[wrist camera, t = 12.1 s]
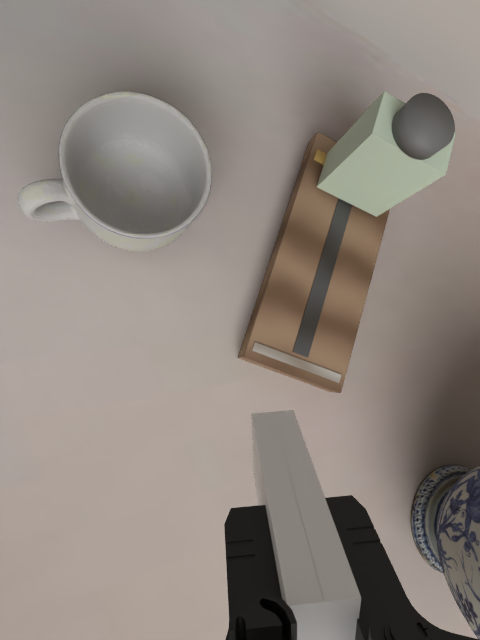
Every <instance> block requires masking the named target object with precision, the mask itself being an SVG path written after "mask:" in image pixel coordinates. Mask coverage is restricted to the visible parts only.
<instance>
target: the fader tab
mask: <svg viewBox="0 0 480 640" xmlns="http://www.w3.org/2000/svg"><path fill="white" fill-rule="evenodd" d="M454 131H455V125H454V120H453V116H452V114H451V112H450V110H449V109H448V107H447V106H446V104H445V103H444V102H443V101H442V100H440V99H439V98H438V97H436V96H434V95H432V94H428V93H420V94H417V95H415V96H413V97H412V98H411V99H410V100H409V101H408V102H407V103H404V102H402V101H401V100H399V99H397V98H395V97H394V96H392V95H390V94H389V93H387V92H385V91H384V92H383V93H382V94H381V95H380V97H379V98H378V99H377V100H376V101H375V102H374V103H373V104H372V105H371V106H370V107H369V108H368V109H367V111H366V112H365V113H364V114H363V115H362V116H361V117H360V118H359V119H358V120H357V121H356V122H355V124H354V125H353V126H352V127H351V128H350V129H349V130H348V131H347V132H346V133H345V134H344V135H343V137H342V138H341V139H340V140H339V141H338V142H337V143H336V144H335V145H334V146H333V147H332V148H331V149H330V151H329V152H328V153H327V156H326V159H325V162H324V165H323V169H322V172H321V175H320V178H319V181H318V184H317V188H319V189H321V190H323V191H325V192H327V193H329V194H331V195H333V196H335V197H337V198H339V199H341V200H343V201H345V202H347V203H349V204H352V205H354V206H356V207H358V208H360V209H362V210H364V211H366V212H368V213H370V214H372V215H374V216H376V217H377V216H379V215H380V214H382V213H384V212H385V211H387V210H389V209H390V208H392V207H393V206H395V205H397V204H398V203H400V202H402V201H403V200H405V199H407V198H408V197H410V196H411V195H413V194H415V193H416V192H418V191H420V190H421V189H423V188H424V187H426V186H428V185H429V184H431V183H433V182H434V181H436V180H438V179H439V178H441V177H442V176H444V175H446V172H447V167H448V163H449V159H450V155H451V151H452V146H453V142H454V138H455V134H456V133H455V132H454Z"/></svg>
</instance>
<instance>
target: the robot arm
mask: <svg viewBox="0 0 480 640" xmlns="http://www.w3.org/2000/svg"><path fill="white" fill-rule="evenodd" d="M252 440H253V466H254V479H255V485H256V492H257V498H258V504H259V506H250V507H239V508H231V510H230V512H229V515H228V517H227V519H226V522H225V543H226V562H227V582H228V601H229V630H228V633H227V637H226V640H479V639H475V638H470V637H466V636H462V635H458V634H454V633H450V632H447V631H445V630H442V629H439V628H438V627H436V626H434V625H432V624H431V623H429V622H428V621H427V620H426V619H424V618H423V617H422V616H421V615H420V614H419V613H418V612H417V611H416V610H415V609H414V607H413V606H412V605H411V603H410V601H409V600H408V598H407V596H406V594H405V592H404V590H403V588H402V585H401V583H400V581H399V579H398V577H397V575H396V573H395V571H394V568H393V566H392V564H391V562H390V560H389V558H388V556H387V554H386V551H385V549H384V547H383V545H382V544H381V542H380V539H379V537H378V534H377V532H376V530H375V529H374V526H373V524H372V522H371V520H370V517H369V515H368V513H367V511H366V509H365V508H364V507H363V506H362V505H361V504H360V503H359V502H358V501H357V500H356V499H355V498H354V497H353V496H352V495H351V496H341V497H330V498H325V496H324V494H323V491H322V488H321V485H320V483H319V480H318V477H317V474H316V472H315V469H314V466H313V463H312V461H311V458H310V455H309V452H308V450H307V447H306V444H305V441H304V439H303V436H302V433H301V430H300V427H299V425H298V422H297V419H296V416H295V414H294V411H293V410H290V411H278V412H266V413H255V414H252Z"/></svg>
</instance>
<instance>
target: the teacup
mask: <svg viewBox="0 0 480 640" xmlns="http://www.w3.org/2000/svg"><path fill="white" fill-rule="evenodd" d="M59 163H60V169H61V174H62V177H63V179H47V180H40V181H36V182H33V183H31V184H29V185H27V186H25V187H24V188H23V189H22V190H21V191H20V192H19V194H18V204H19V207H20V209H21V211H22V212H23V214H24V215H25V216H26V217H27V218H29V219H31V220H34V221H44V222H48V221H61V220H70V219H71V220H81V221H82V222H83V223H84V224H85V226H86V227H87V228H88V229H89V230H90V231H91V232H92V233H93V234H95V235H96V236H97V237H98V238H100V239H101V240H102V241H104V242H106V243H108V244H110V245H112V246H114V247H117V248H120V249H124V250H129V251H149V250H154V249H158V248H161V247H163V246H165V245H167V244H169V243H171V242H172V241H174V240H175V239H176V238H178V237H179V236H180V235H181V234H182V233H183V232H184V231H185V230H186V229H187V227H188V226H189V225H190V224H191V222H192V221H193V220H194V219H195V218H196V217H197V216H198V214H199V213H200V212H201V210H202V209H203V207H204V205H205V203H206V201H207V198H208V196H209V193H210V188H211V180H212V174H211V163H210V157H209V153H208V150H207V147H206V145H205V143H204V141H203V139H202V137H201V135H200V134H199V132H198V131H197V129H196V128H195V127H194V125H193V124H192V123H191V122H190V121H189V119H188V118H187V117H186V116H184V115H183V114H182V113H181V112H180V111H178V110H177V109H176V108H174V107H173V106H172V105H169V104H168V103H166V102H164V101H162V100H160V99H158V98H155V97H153V96H149V95H146V94H142V93H136V92H127V91H126V92H111V93H108V94H104V95H101V96H99V97H96V98H94V99H92V100H89V101H88V102H86V103H85V104H83V105H82V106H80V107H79V108H78V109H77V110H76V111H75V112H74V113H73V115H72V116H71V117H70V119H69V120H68V121H67V123H66V125H65V127H64V129H63V131H62V135H61V138H60V143H59Z"/></svg>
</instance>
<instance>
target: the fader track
mask: <svg viewBox="0 0 480 640" xmlns="http://www.w3.org/2000/svg"><path fill="white" fill-rule="evenodd" d="M336 143H337V142H336V141H334V140H332V139H330V138H328V137H326V136H324V135H323V134H321V133H319V132H317V133H316V134H315V136H314V137H313V138H312V139H311V141H310V142H309V144H308V147H307V150H306V153H305V156H304V159H303V162H302V165H301V168H300V171H299V174H298V177H297V180H296V183H295V186H294V189H293V192H292V195H291V198H290V201H289V204H288V207H287V210H286V213H285V216H284V219H283V222H282V225H281V228H280V231H279V234H278V237H277V241H276V244H275V247H274V250H273V253H272V256H271V259H270V262H269V265H268V268H267V271H266V274H265V277H264V280H263V283H262V286H261V289H260V292H259V295H258V298H257V301H256V304H255V307H254V310H253V313H252V316H251V319H250V322H249V325H248V328H247V331H246V334H245V337H244V340H243V343H242V346H241V349H240V352H239V356H238V358H240V359H242V360H245V361H248V362H250V363H253V364H256V365H259V366H261V367H264V368H267V369H270V370H272V371H275V372H278V373H280V374H283V375H286V376H289V377H291V378H294V379H297V380H299V381H302V382H305V383H308V384H310V385H313V386H316V387H319V388H321V389H324V390H327V391H329V392H337V393H341V390H342V387H343V383H344V379H345V375H346V372H347V368H348V364H349V360H350V357H351V353H352V349H353V345H354V342H355V338H356V334H357V330H358V327H359V323H360V319H361V315H362V312H363V308H364V304H365V300H366V297H367V293H368V289H369V285H370V282H371V278H372V274H373V270H374V267H375V263H376V259H377V255H378V252H379V248H380V244H381V240H382V237H383V233H384V229H385V225H386V222H387V218H388V214H389V210H390V209H389V210H387V211H385V212H384V213H382V214H380V215H379V216H377V217H376V216H374V215H372V214H370V213H368V212H366V211H364V210H362V209H360V208H358V207H356V206H354V205H352V204H349V203H347V202H345V201H343V200H341V199H339V198H337V197H335V196H333V195H331V194H329V193H327V192H325V191H323V190H321V189H319V188H317V184H318V181H319V178H320V175H321V172H322V169H323V165H324V162H325V159H326V156H327V153H328V152H329V151H330V149H331V148H332V147H333V146H334V145H335V144H336Z"/></svg>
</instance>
